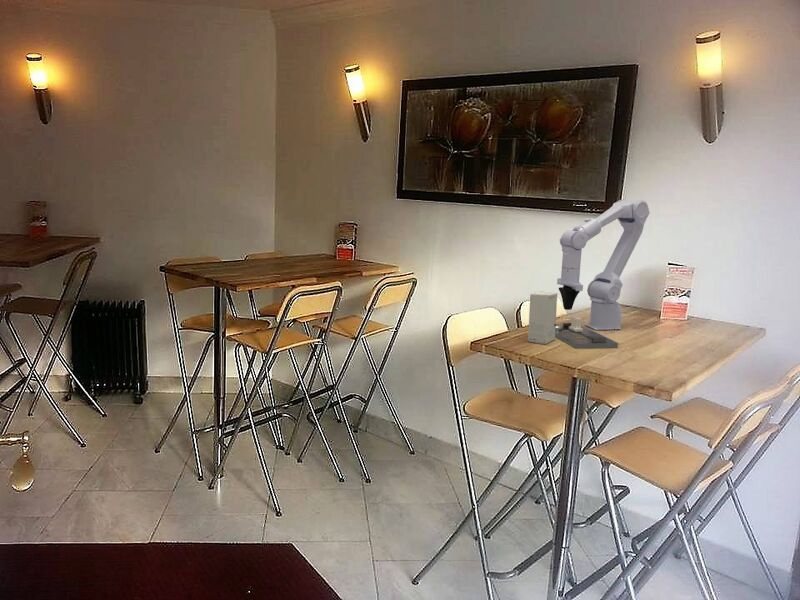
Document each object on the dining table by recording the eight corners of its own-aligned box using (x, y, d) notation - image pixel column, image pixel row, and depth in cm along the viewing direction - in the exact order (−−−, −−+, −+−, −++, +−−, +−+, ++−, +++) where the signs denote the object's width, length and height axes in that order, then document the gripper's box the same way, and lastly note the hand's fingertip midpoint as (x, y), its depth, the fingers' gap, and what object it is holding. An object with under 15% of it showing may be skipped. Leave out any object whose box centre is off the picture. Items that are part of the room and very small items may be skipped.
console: (582, 330, 196) (583, 322, 195) (617, 347, 174) (618, 338, 174) (545, 331, 193) (545, 322, 193) (576, 348, 172) (576, 338, 172)
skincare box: (545, 345, 176) (549, 295, 173) (526, 341, 179) (529, 293, 176) (555, 339, 183) (558, 291, 180) (536, 336, 186) (539, 289, 183)
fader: (576, 328, 191) (577, 316, 190) (582, 331, 187) (583, 318, 186) (568, 328, 191) (569, 316, 190) (575, 331, 186) (576, 319, 186)
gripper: (549, 265, 198) (547, 305, 200) (569, 270, 184) (565, 313, 186) (569, 265, 199) (566, 305, 202) (590, 270, 185) (586, 313, 187)
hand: (567, 309), depth 194 cm, fingers closed
